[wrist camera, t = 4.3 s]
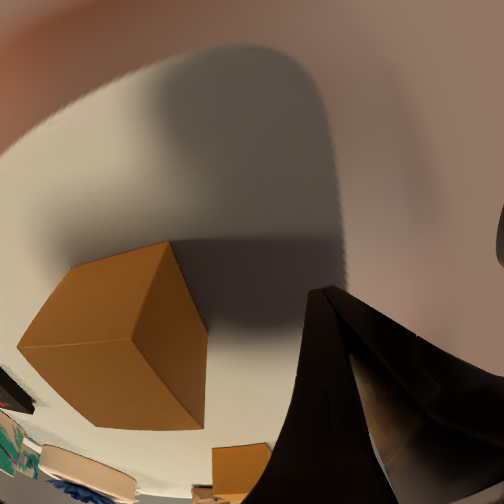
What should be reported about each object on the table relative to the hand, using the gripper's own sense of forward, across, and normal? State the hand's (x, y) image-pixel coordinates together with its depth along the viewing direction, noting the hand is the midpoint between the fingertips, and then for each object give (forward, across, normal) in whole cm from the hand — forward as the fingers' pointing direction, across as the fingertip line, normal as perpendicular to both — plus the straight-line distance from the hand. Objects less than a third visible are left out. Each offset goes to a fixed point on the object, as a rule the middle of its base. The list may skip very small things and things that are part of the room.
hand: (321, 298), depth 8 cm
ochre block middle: (+2, +7, +18) cm, 19 cm away
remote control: (+2, +35, +7) cm, 36 cm away
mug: (+2, +41, +18) cm, 45 cm away
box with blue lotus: (+2, +34, +31) cm, 46 cm away
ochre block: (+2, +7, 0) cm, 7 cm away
